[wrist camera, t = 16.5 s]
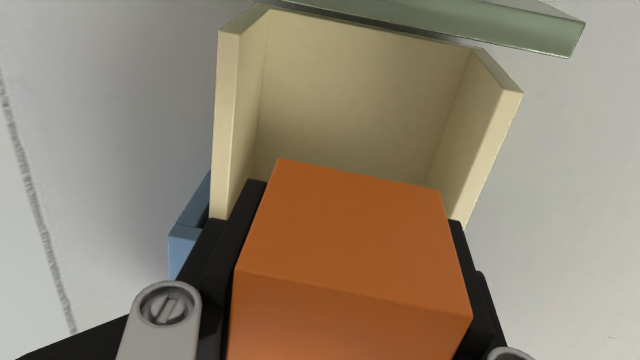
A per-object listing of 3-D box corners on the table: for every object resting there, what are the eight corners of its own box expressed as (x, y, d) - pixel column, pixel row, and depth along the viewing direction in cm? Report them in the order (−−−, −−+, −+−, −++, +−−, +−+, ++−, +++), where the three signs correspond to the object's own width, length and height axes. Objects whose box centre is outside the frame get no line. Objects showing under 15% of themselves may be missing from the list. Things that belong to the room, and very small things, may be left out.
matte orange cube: (260, 277, 14) (219, 410, 10) (277, 156, 11) (233, 269, 8) (396, 304, 14) (407, 447, 10) (440, 188, 12) (476, 317, 8)
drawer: (260, -235, 17) (199, -323, 11) (583, -168, 17) (702, -217, 11) (227, 200, 27) (187, 278, 21) (425, 240, 27) (440, 329, 21)
